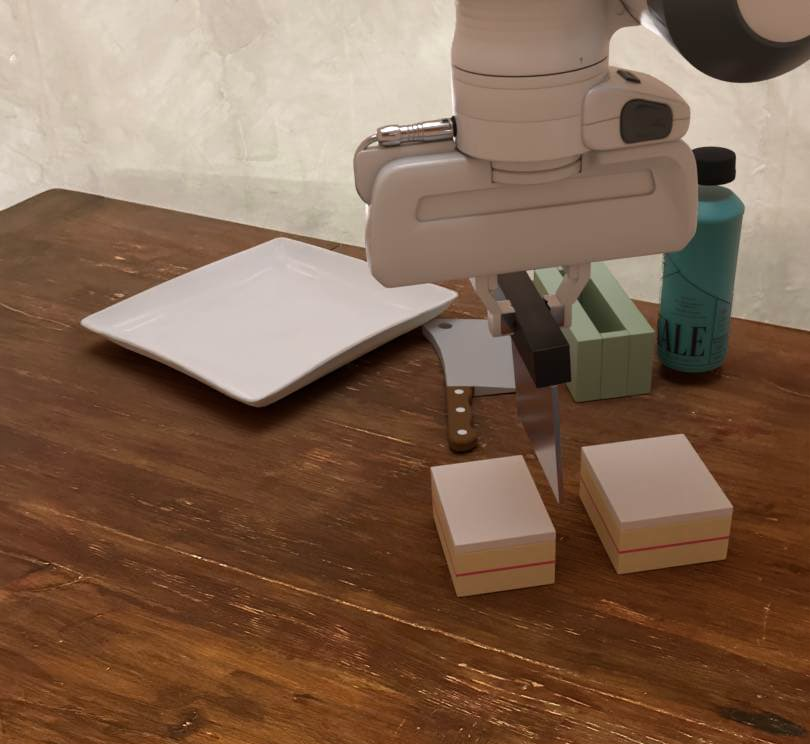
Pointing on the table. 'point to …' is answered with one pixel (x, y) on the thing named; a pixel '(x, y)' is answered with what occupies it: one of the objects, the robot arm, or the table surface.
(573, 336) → the cutter stand
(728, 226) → the beverage bottle
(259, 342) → the square plate
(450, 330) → the kitchen cleaver
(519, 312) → the cake cutter
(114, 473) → the table surface
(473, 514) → the cake slice
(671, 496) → the cake
